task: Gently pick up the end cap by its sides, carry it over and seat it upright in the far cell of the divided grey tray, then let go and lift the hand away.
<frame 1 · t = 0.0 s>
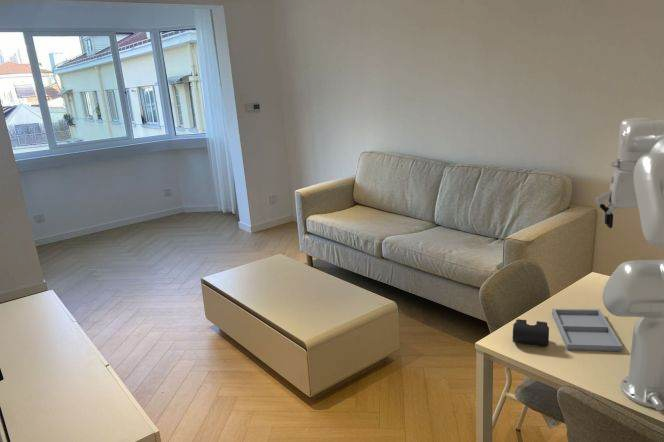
hand: (628, 226, 137), 37 cm above the table, tool pointing down, fingers open, 9 cm apart
end cap: (530, 344, 152), on the table
divided grey tray: (584, 331, 155), on the table
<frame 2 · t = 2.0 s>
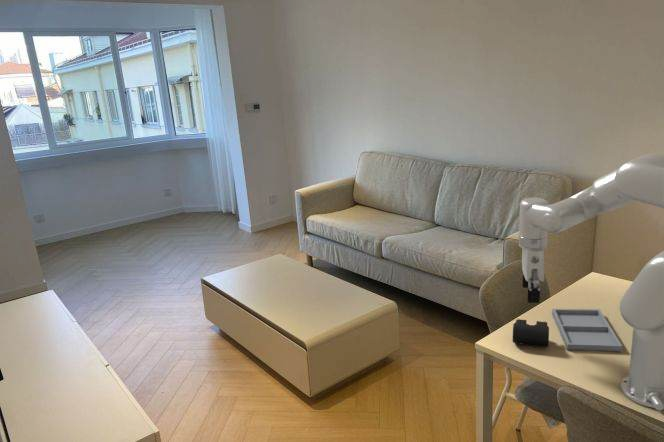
hand: (530, 294, 147), 16 cm above the table, tool pointing down, fingers open, 9 cm apart
nothing on the table moved.
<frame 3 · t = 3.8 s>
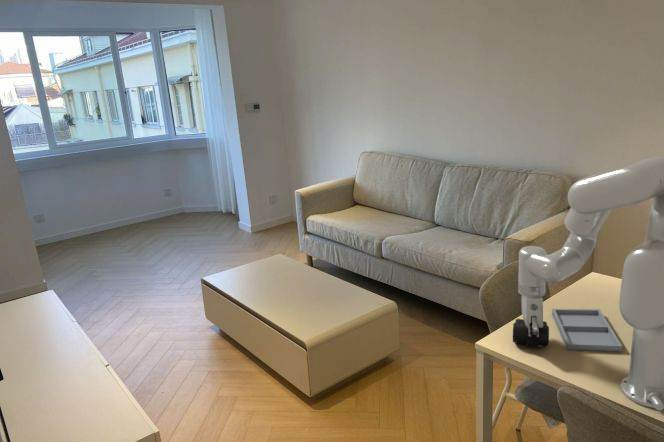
hand: (530, 339, 151), 1 cm above the table, tool pointing down, fingers closed on end cap, 7 cm apart
end cap: (530, 344, 152), on the table, touching gripper
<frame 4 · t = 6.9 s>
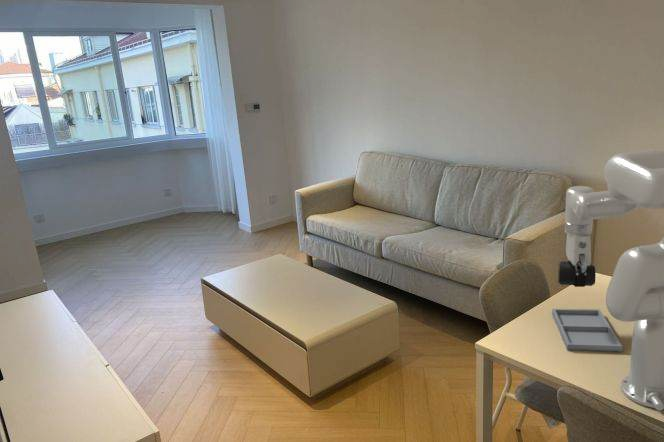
hand: (575, 280, 154), 16 cm above the table, tool pointing down, fingers closed on end cap, 7 cm apart
end cap: (575, 284, 155), point 14 cm above the table, touching gripper
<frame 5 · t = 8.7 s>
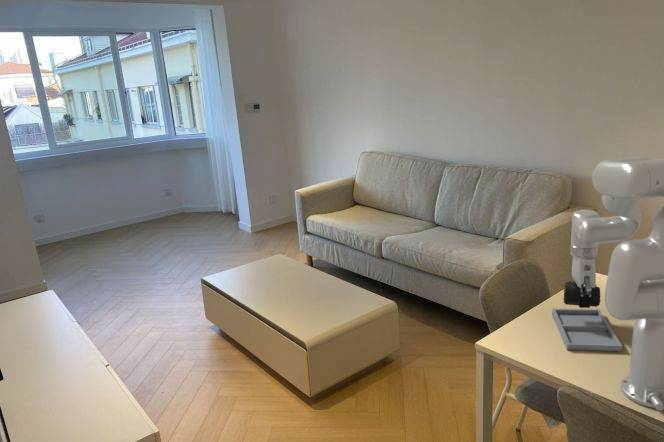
hand: (580, 300, 158), 8 cm above the table, tool pointing down, fingers closed on end cap, 7 cm apart
end cap: (580, 305, 158), point 6 cm above the table, touching gripper
when the fingers open (4 cm above the table, at t = 10.1 s): end cap drops 2 cm, resting on divided grey tray.
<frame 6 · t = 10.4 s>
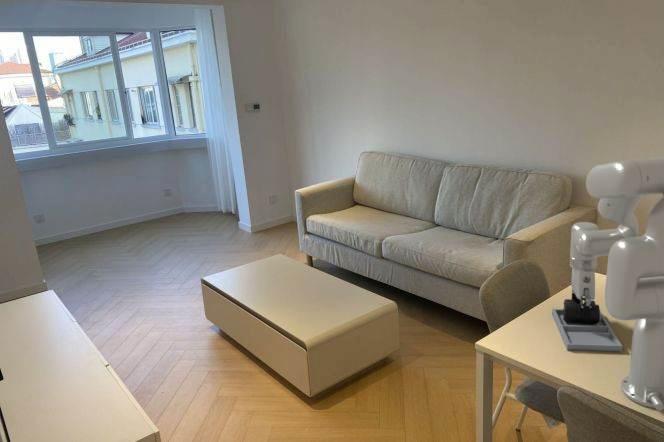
hand: (580, 311, 159), 4 cm above the table, tool pointing down, fingers open, 9 cm apart
end cap: (580, 322, 160), resting on divided grey tray
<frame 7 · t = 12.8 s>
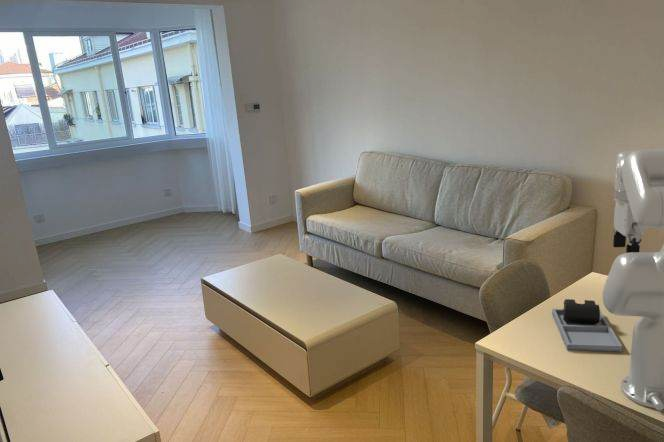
hand: (625, 252, 144), 27 cm above the table, tool pointing down, fingers open, 9 cm apart
nothing on the table moved.
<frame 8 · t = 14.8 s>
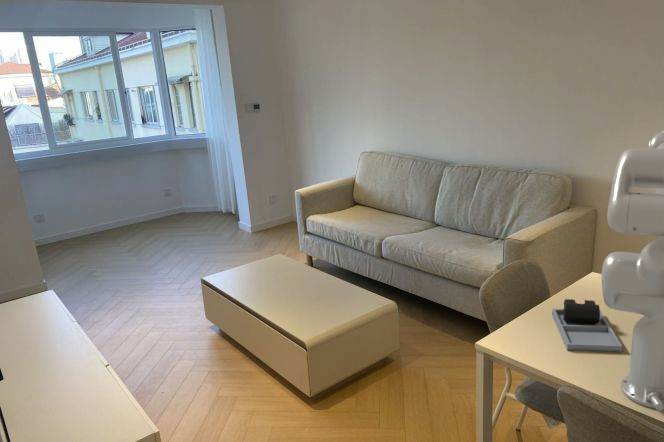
nothing on the table moved.
at the end: end cap 0.2 cm from the target spot on the divided grey tray, point 0.3 cm above the divided grey tray's base; end cap tilted 0°; the gripper is holding nothing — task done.
